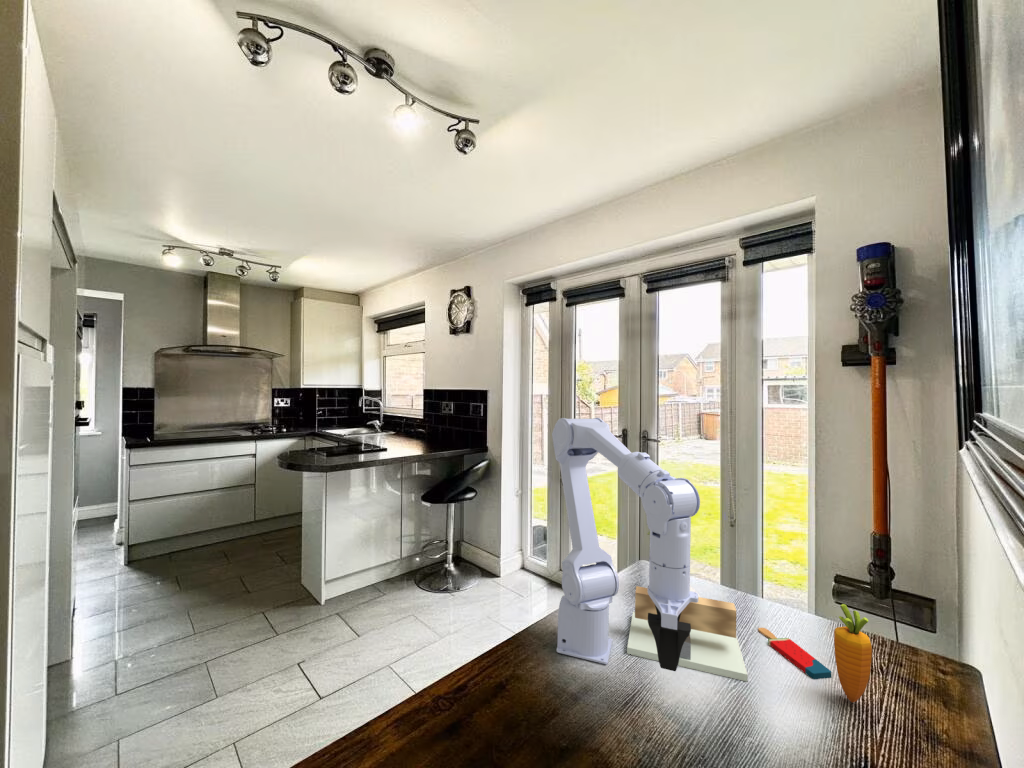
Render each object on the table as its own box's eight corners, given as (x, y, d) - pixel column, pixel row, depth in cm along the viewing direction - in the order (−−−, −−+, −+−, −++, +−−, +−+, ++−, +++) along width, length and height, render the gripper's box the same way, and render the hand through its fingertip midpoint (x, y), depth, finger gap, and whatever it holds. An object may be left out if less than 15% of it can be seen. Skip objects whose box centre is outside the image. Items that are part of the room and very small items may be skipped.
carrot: (879, 716, 65) (880, 618, 65) (843, 710, 66) (844, 614, 66) (859, 693, 69) (860, 602, 70) (826, 688, 70) (827, 599, 71)
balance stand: (627, 653, 79) (627, 631, 79) (632, 616, 92) (633, 597, 92) (747, 681, 72) (747, 656, 72) (735, 637, 85) (735, 616, 85)
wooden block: (634, 617, 84) (635, 592, 84) (636, 610, 86) (636, 586, 87) (736, 638, 77) (736, 610, 78) (733, 629, 80) (733, 603, 80)
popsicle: (770, 624, 88) (834, 671, 73) (770, 631, 88) (834, 680, 73) (750, 625, 88) (811, 673, 73) (750, 632, 88) (811, 681, 73)
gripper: (702, 586, 55) (701, 692, 54) (695, 548, 68) (694, 632, 68) (645, 577, 57) (644, 677, 57) (649, 541, 71) (648, 623, 70)
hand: (668, 652), depth 62 cm, fingers open, 7 cm apart
